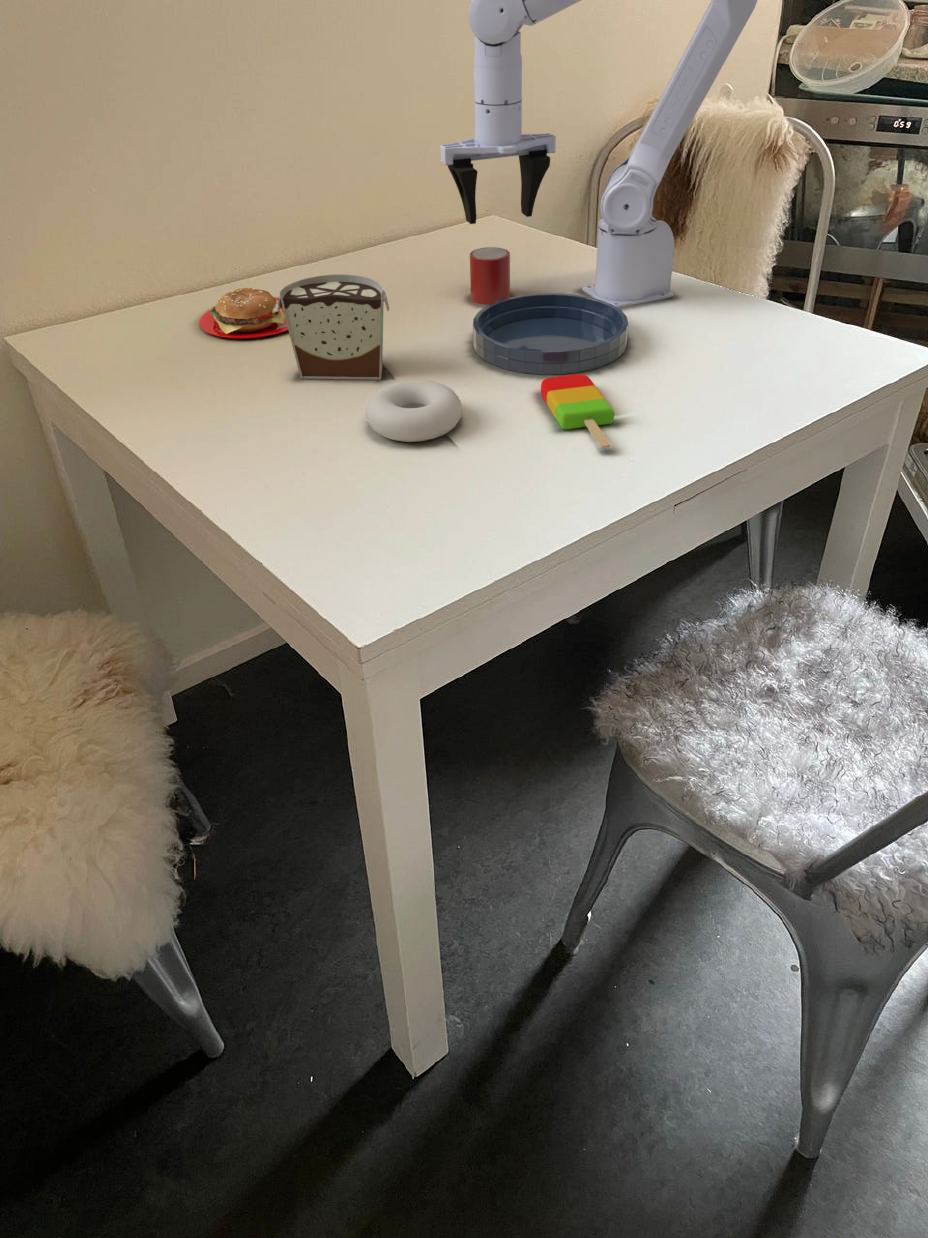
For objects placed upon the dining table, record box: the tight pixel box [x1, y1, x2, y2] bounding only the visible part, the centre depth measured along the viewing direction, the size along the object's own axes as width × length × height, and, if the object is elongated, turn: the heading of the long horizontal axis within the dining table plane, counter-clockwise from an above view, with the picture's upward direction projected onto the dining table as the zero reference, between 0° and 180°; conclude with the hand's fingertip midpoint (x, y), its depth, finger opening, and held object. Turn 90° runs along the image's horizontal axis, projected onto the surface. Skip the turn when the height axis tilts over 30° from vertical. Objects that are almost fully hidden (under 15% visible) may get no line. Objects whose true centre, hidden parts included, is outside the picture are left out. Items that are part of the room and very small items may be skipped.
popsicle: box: [540, 373, 615, 449], centre depth 99 cm, size 6×15×2 cm, turn 12°
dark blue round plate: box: [472, 292, 629, 376], centre depth 114 cm, size 18×18×3 cm
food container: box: [277, 273, 390, 381], centre depth 109 cm, size 12×6×10 cm, turn 84°
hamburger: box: [198, 286, 289, 339], centre depth 123 cm, size 14×14×6 cm
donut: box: [365, 379, 463, 443], centre depth 99 cm, size 10×4×10 cm
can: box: [469, 246, 511, 306], centre depth 126 cm, size 5×5×6 cm
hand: (498, 218), depth 124 cm, fingers open, 7 cm apart
